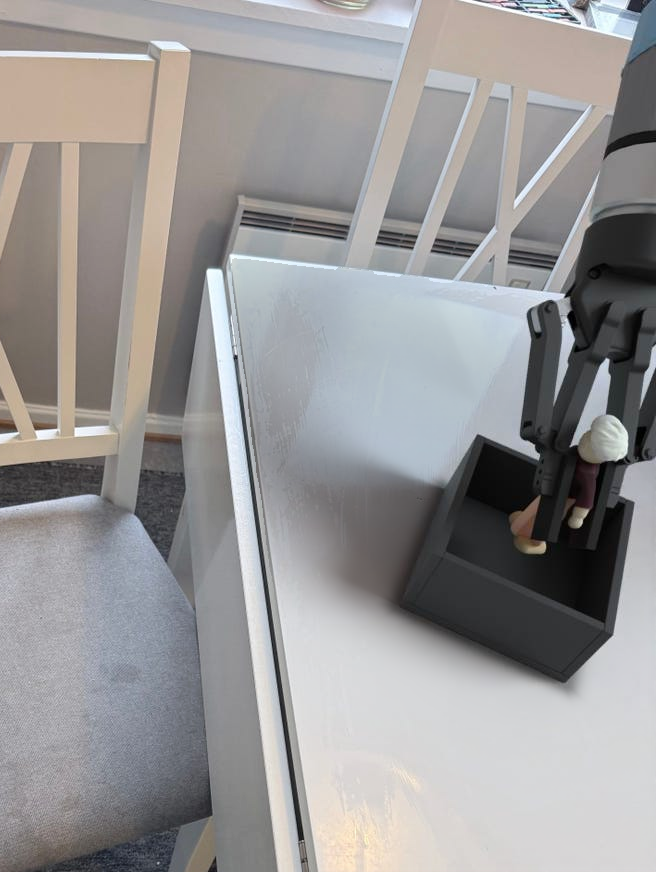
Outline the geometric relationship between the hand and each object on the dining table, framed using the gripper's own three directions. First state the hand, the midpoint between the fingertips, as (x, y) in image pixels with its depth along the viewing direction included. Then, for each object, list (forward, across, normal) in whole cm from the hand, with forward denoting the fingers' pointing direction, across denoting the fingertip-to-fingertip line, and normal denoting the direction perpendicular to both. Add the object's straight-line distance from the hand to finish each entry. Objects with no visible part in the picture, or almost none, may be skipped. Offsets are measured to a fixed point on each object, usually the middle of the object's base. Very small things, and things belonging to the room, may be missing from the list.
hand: (562, 543), depth 67 cm
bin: (+4, 0, -9) cm, 10 cm away
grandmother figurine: (0, 0, -6) cm, 6 cm away
